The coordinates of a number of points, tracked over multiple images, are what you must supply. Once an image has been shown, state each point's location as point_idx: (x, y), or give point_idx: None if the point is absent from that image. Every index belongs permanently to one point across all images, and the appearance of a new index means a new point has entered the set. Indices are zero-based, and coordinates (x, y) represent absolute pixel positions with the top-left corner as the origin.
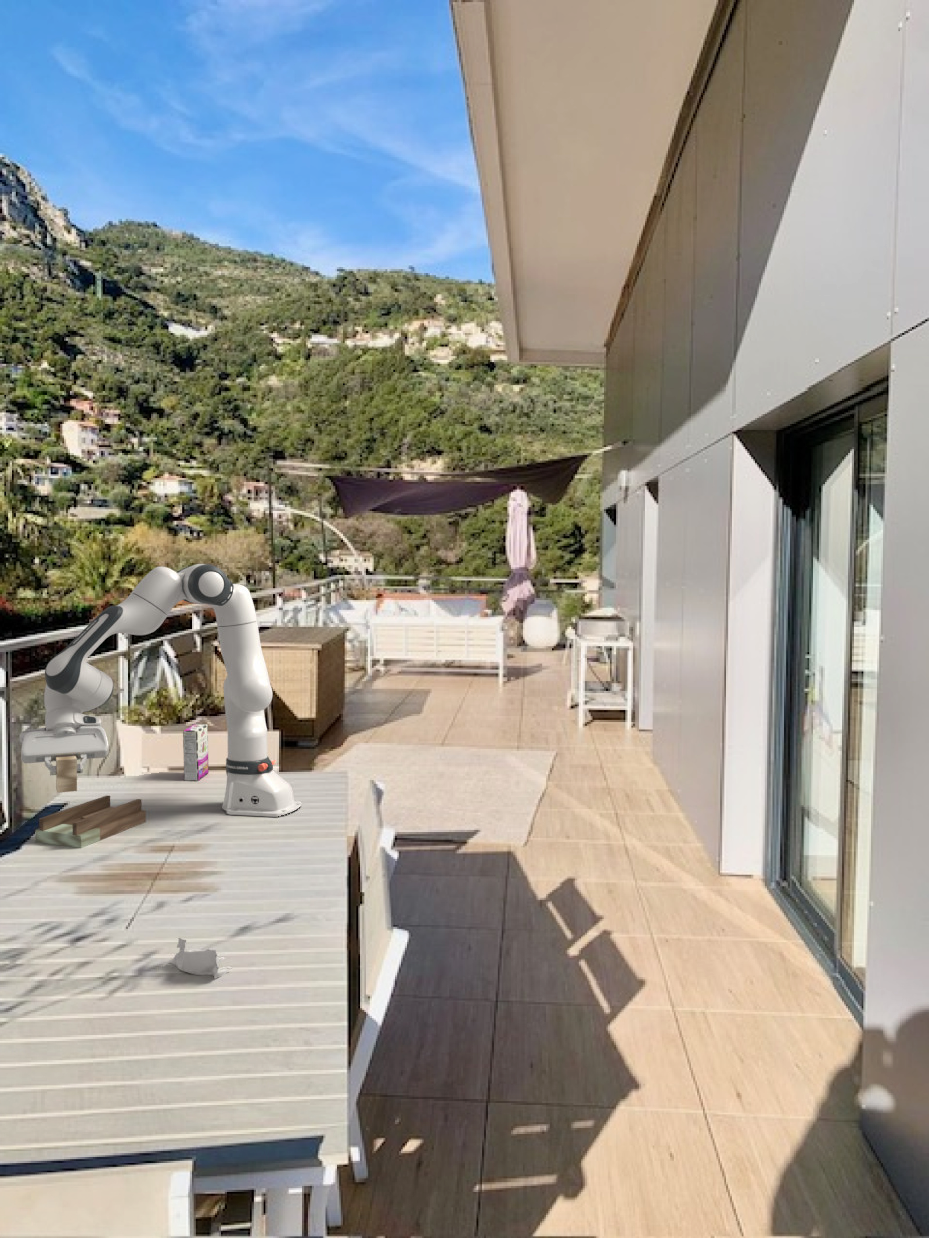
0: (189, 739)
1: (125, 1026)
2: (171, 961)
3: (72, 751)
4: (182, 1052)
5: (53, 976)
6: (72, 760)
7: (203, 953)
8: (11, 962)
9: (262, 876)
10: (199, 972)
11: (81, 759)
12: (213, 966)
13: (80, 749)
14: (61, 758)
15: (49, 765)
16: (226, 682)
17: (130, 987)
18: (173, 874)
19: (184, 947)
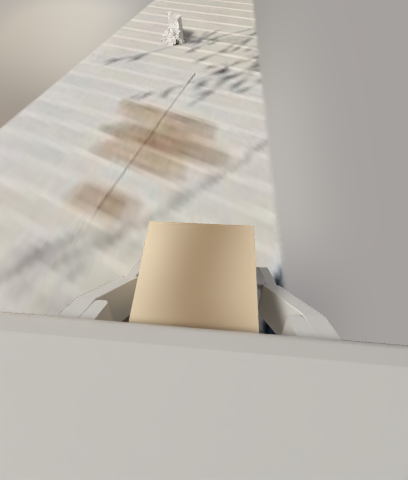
0: None
1: (214, 17)
2: (184, 41)
3: (134, 327)
4: (199, 5)
5: (238, 46)
6: (172, 224)
7: (173, 14)
8: (258, 60)
9: (81, 111)
10: (176, 30)
11: (110, 315)
12: (170, 25)
13: (56, 337)
14: (225, 270)
15: (281, 287)
16: None
17: (206, 33)
18: (135, 136)
19: (178, 21)
